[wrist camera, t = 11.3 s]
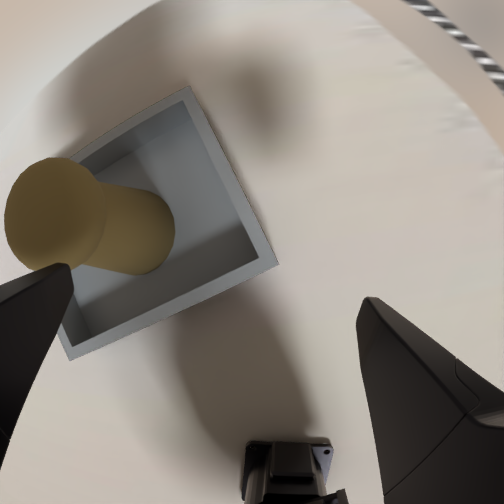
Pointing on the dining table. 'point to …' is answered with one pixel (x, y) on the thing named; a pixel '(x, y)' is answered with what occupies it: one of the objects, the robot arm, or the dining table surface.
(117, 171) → the tray
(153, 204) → the cork
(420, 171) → the dining table surface
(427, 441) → the robot arm
